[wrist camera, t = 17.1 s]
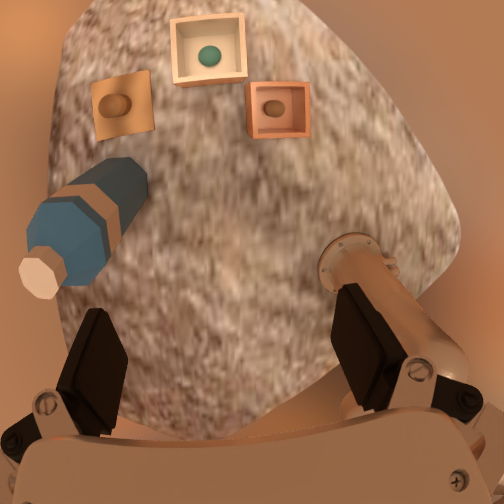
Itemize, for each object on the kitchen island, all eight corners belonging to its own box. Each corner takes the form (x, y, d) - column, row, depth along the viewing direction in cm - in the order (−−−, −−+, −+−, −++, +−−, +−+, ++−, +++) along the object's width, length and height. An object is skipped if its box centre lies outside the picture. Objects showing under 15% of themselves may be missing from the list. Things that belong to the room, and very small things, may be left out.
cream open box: (238, 31, 31) (244, 12, 23) (240, 82, 35) (247, 76, 27) (179, 36, 30) (170, 19, 23) (182, 87, 34) (173, 83, 26)
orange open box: (294, 84, 36) (309, 82, 30) (295, 131, 39) (310, 137, 33) (244, 85, 35) (250, 81, 29) (247, 133, 39) (253, 139, 33)
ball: (220, 46, 32) (220, 42, 29) (221, 66, 33) (222, 63, 30) (198, 48, 31) (196, 44, 29) (199, 68, 33) (197, 65, 30)
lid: (150, 70, 33) (140, 65, 28) (155, 129, 37) (146, 133, 32) (92, 83, 32) (76, 82, 27) (98, 140, 36) (83, 146, 31)
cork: (279, 100, 36) (284, 99, 34) (280, 116, 37) (285, 117, 35) (262, 100, 36) (266, 100, 33) (263, 116, 37) (267, 118, 35)
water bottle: (138, 222, 43) (82, 338, 21) (87, 202, 40) (-1, 298, 19) (158, 168, 40) (96, 251, 18) (103, 147, 37) (-3, 208, 15)
